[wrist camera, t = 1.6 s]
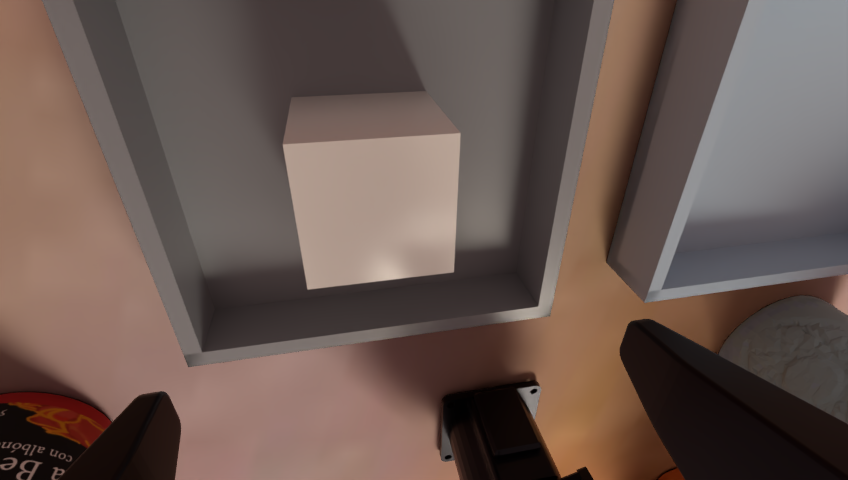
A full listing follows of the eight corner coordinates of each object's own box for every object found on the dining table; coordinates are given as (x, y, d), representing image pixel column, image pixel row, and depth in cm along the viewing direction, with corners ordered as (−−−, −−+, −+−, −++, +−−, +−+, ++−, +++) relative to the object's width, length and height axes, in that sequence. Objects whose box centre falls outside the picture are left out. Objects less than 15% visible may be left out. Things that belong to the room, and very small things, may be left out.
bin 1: (521, 273, 24) (549, 316, 21) (205, 311, 21) (188, 367, 18) (572, -64, 16) (628, -70, 13) (77, -71, 13) (10, -80, 10)
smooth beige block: (425, 206, 20) (453, 272, 16) (309, 217, 19) (307, 289, 15) (426, 90, 17) (460, 133, 13) (291, 97, 16) (282, 144, 12)
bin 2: (841, 233, 28) (903, 266, 25) (606, 262, 25) (644, 302, 22) (1013, -58, 20) (1134, -61, 17) (693, -63, 17) (772, -67, 14)
